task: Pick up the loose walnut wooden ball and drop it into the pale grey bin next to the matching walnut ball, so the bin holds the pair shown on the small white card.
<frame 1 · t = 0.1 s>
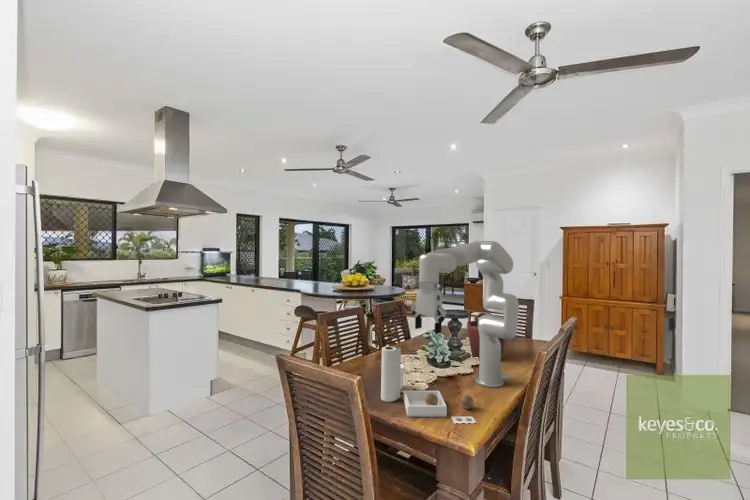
hand: (427, 330, 143), 31 cm above the table, tool pointing down, fingers open, 9 cm apart
bin: (423, 408, 145), on the table
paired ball: (431, 400, 145), point 3 cm above the table, touching bin
bucket: (487, 356, 214), on the table
paper towel roll: (389, 399, 153), on the table
target card: (463, 420, 136), on the table
walnut ball: (467, 402, 146), point 2 cm above the table
white cup: (394, 388, 165), on the table
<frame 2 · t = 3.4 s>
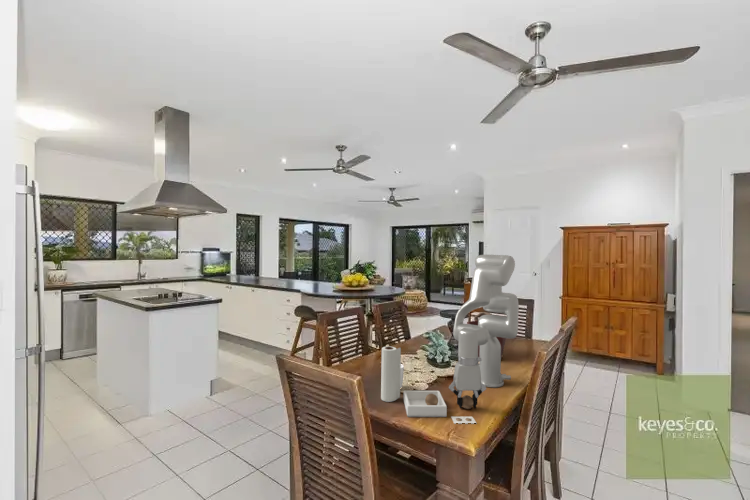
hand: (467, 406, 146), 1 cm above the table, tool pointing down, fingers closed on walnut ball, 4 cm apart
walnut ball: (467, 402, 146), point 2 cm above the table, touching gripper
everything else where it was.
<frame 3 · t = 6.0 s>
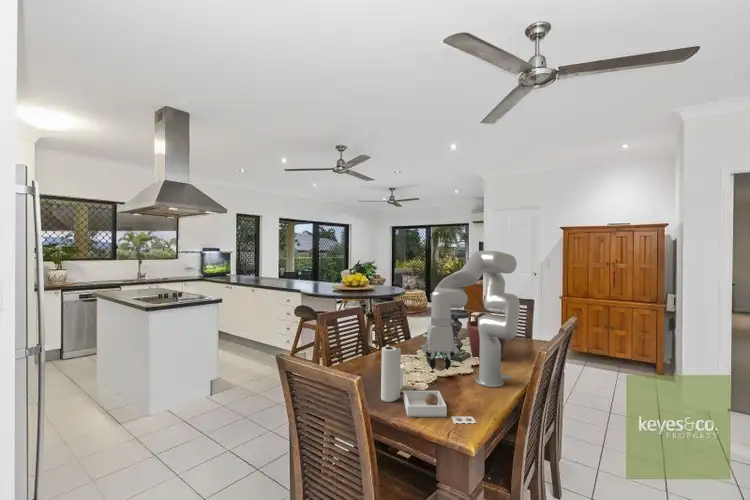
hand: (439, 368, 145), 16 cm above the table, tool pointing down, fingers closed on walnut ball, 4 cm apart
walnut ball: (439, 364, 145), point 18 cm above the table, touching gripper
everything else where it was.
when the fingers open (7 cm above the table, at t = 8.6 s): walnut ball drops 5 cm, resting on bin.
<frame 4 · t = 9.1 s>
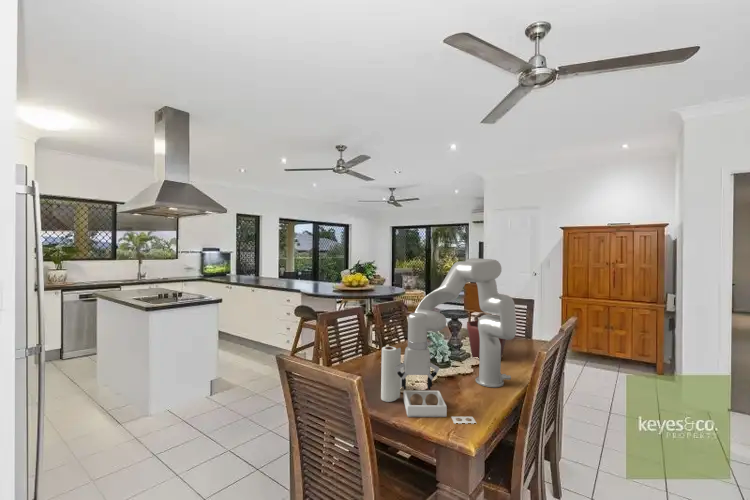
hand: (416, 388, 145), 8 cm above the table, tool pointing down, fingers open, 9 cm apart
walnut ball: (416, 400, 145), point 3 cm above the table, touching bin
everything else where it was.
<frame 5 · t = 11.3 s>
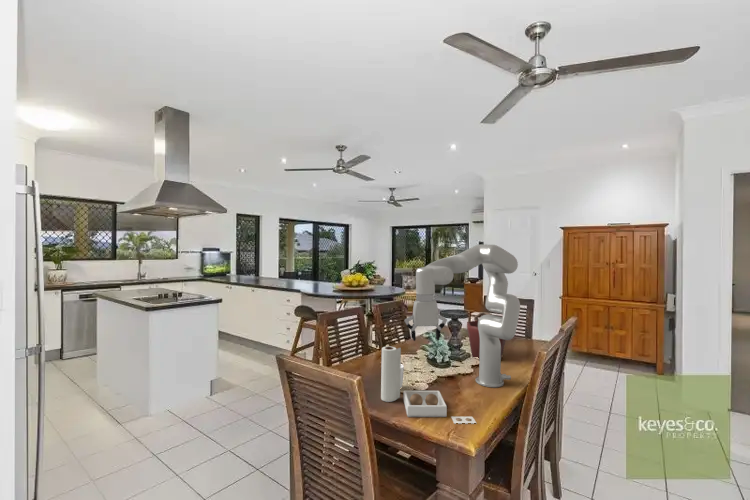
hand: (425, 339, 151), 25 cm above the table, tool pointing down, fingers open, 9 cm apart
nothing on the table moved.
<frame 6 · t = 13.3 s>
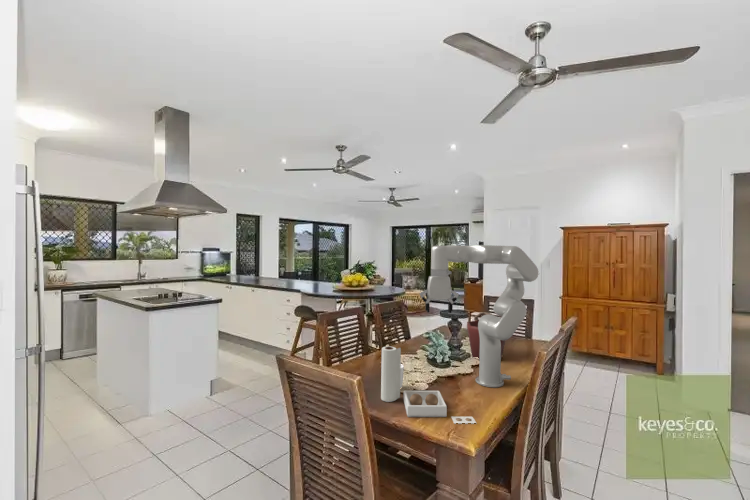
hand: (438, 312, 164), 34 cm above the table, tool pointing down, fingers open, 9 cm apart
nothing on the table moved.
at the end: walnut ball inside the target area on the bin (3.1 cm from its centre), point 3.1 cm above the bin's base; the gripper is holding nothing; walnut ball moved 20.1 cm from its start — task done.
